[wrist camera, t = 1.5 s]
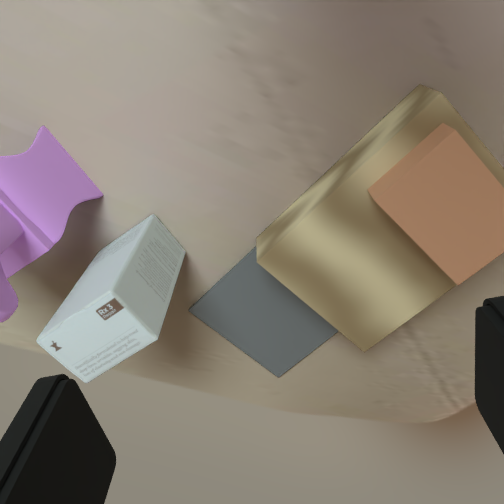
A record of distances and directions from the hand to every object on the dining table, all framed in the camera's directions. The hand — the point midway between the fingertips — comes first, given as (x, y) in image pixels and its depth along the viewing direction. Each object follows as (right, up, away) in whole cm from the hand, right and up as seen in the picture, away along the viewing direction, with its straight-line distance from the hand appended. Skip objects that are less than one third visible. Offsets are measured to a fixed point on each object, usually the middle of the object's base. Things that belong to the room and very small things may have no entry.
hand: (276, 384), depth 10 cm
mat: (+1, -2, +29) cm, 29 cm away
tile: (+12, +6, +20) cm, 24 cm away
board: (+10, +6, +24) cm, 27 cm away
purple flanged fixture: (-17, +8, +24) cm, 30 cm away
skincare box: (-9, +3, +26) cm, 28 cm away
